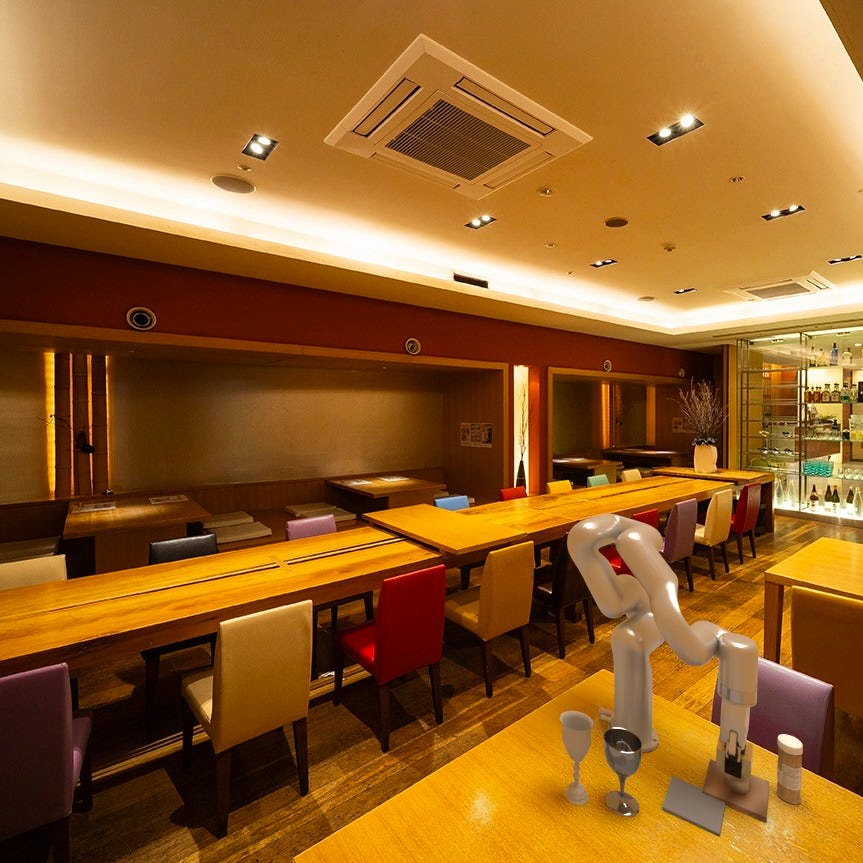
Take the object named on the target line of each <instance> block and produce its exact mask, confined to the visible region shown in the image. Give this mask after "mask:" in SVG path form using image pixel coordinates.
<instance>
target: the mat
mask: <svg viewBox="0 0 863 863" xmlns="http://www.w3.org/2000/svg"><path fill="white" fill-rule="evenodd" d="M702 790H703V787H700V786H698V785H695V784H693V783H691V782H688V781H686V780H683V779H681V778H678V777H676V776H673V775H671V779H670V782H669V785H668V788H667V791H666V794H665V796H664V800H663V803H662V806H661V810H662V811H664V812H666V813H668V814H670V815H673V816H674V817H677V818H679V819H681V820H683V821H685V822H688V823H689V824H692V825H695V826H696V827H699V828H701V829H702V830H704V831H707V832H709V833H712V834H714V835H715V836H718V837H720V836H721V831H722V826H723V820H724V815H725V809H726V805H725V802H722V801H720V800H718V799H715V798H713V797H711V796H708V795H706V794H704V793H702Z"/></svg>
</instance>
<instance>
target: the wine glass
mask: <svg viewBox="0 0 863 863" xmlns="http://www.w3.org/2000/svg"><path fill="white" fill-rule="evenodd" d="M603 751H604V756H605V761H606V762H607V765H608V766H609V768H610V769H611V770H612V771H613V773H615V775H616V776H617V777H618V781H619V782H618V783H619V786H620V787H619V788H620V790H611V791H609V792H607V794H606V795H605V804H606V806H607V807H608V809H609V810H610V811H611V812H613V813H614V814H616V815H618V816H620V817H623V818H633V817H636V816H637V815H638V814H639V812H640V803H638V801H637V799H636V798H635V797H634V796H632V795H631V794H629V793H628V792H625V786H626V781H627V780H628V778H629V777H632V776H634V775H635V774H636V773H637V772H638V770H639V768H640V765H641V760H642V755H643V752H642V743H641V740H640V738H639V737H638V736H637V735H636V734H634V733H633V732H631V731H629V730H627V729H623V728H610V729H608V728H607V729H606V730H605V731H604V732H603Z"/></svg>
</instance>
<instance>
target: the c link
mask: <svg viewBox="0 0 863 863" xmlns="http://www.w3.org/2000/svg"><path fill="white" fill-rule="evenodd" d="M718 736H719V737H720V734H719V735H718ZM719 737H718V740H717V745H716V748H715V749H716V751H715V761H716V765H718V766H720V767H723V768H724V765H725V755H726V743H727V742H726V743H725V744H724V743H721V742H720V741H719ZM729 742H730V740H729ZM736 745H738V746H739V743H737V742H736ZM736 751H738V749H736ZM737 755H738V753H737ZM753 758H754V744H753V743H752V742H748V741H746V743H745V748H744V750H741V759H740V760H741V761H742V771H741V775H742V776H745V777H747V778H750V777H751V775H752V769H753Z"/></svg>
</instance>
